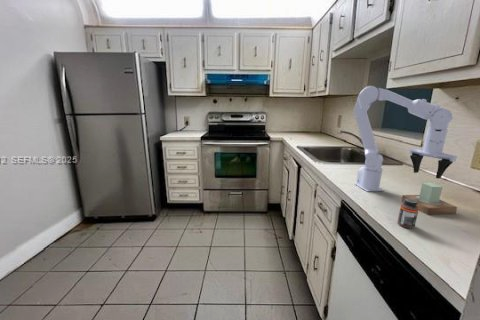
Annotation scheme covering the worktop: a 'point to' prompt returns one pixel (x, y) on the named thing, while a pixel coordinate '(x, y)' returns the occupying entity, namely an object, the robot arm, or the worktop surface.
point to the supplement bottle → (408, 213)
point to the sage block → (430, 192)
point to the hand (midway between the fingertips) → (426, 175)
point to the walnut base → (432, 206)
